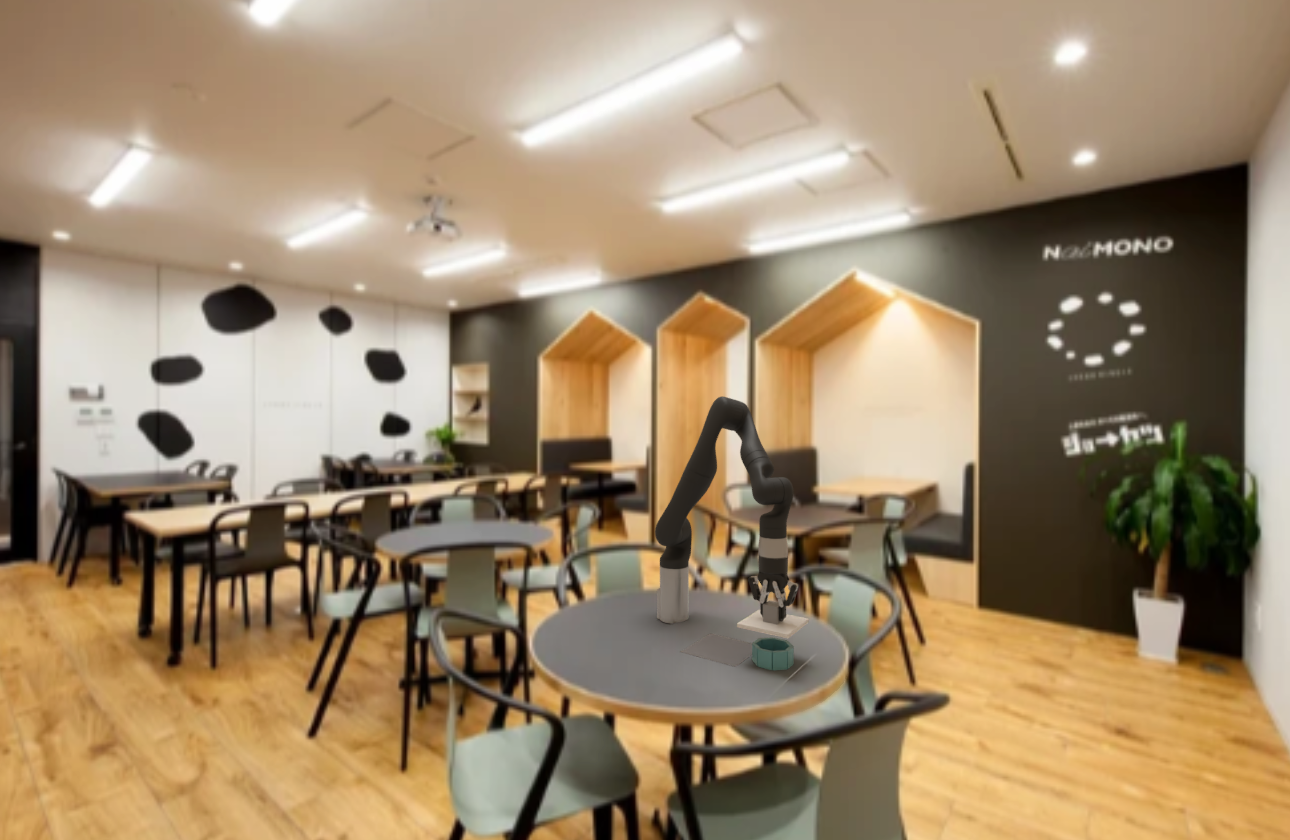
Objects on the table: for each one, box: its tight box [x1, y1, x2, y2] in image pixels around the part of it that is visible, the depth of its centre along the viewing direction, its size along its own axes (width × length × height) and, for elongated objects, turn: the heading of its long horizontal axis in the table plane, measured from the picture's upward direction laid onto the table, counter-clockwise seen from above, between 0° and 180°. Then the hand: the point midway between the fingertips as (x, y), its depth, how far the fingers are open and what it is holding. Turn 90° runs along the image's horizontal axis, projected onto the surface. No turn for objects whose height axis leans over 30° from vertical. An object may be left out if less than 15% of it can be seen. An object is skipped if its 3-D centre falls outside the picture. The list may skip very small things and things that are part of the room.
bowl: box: [751, 637, 795, 671], centre depth 160 cm, size 10×10×5 cm
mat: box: [679, 633, 753, 668], centre depth 169 cm, size 17×17×1 cm
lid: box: [736, 600, 810, 639], centre depth 160 cm, size 14×14×6 cm
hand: (773, 618), depth 160 cm, fingers closed on lid, 4 cm apart
